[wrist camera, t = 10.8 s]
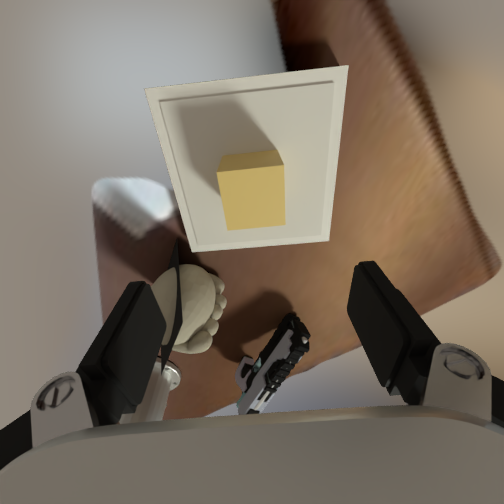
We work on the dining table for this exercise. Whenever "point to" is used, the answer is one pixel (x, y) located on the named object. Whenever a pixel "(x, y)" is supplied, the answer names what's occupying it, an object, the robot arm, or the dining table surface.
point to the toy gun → (271, 365)
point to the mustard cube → (252, 189)
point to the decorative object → (188, 307)
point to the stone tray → (253, 149)
